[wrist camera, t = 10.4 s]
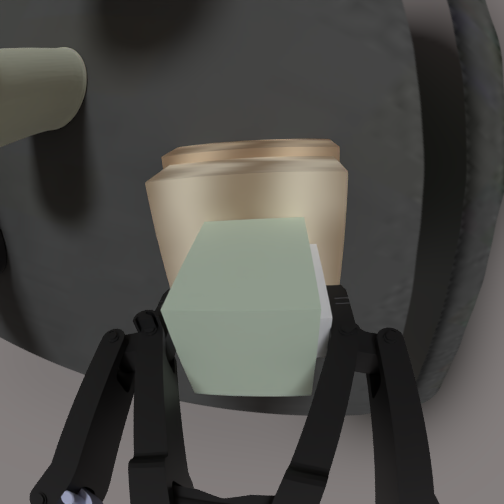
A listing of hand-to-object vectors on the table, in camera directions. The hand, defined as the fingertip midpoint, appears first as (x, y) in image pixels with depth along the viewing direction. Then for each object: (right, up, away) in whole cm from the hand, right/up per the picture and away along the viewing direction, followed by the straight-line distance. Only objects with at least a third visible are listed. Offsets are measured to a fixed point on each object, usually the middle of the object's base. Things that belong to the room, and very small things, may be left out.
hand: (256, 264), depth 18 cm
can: (-20, +18, +2) cm, 27 cm away
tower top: (0, +2, +4) cm, 5 cm away
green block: (0, 0, 0) cm, 0 cm away
